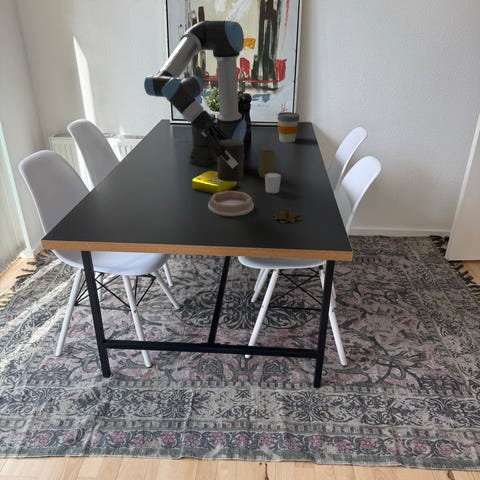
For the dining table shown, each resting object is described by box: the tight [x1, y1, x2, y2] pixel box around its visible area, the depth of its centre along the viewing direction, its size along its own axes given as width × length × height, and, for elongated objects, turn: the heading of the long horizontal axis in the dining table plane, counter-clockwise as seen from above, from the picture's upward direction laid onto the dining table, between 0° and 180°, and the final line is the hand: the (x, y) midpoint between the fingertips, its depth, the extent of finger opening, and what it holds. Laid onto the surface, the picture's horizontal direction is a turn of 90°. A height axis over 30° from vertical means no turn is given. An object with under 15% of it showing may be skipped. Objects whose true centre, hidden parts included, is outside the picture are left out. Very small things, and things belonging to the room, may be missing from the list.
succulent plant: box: [272, 207, 303, 224], centre depth 170 cm, size 12×12×5 cm
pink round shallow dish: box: [207, 190, 255, 217], centre depth 179 cm, size 18×18×4 cm
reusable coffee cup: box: [277, 111, 300, 144], centre depth 263 cm, size 13×13×15 cm
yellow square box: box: [191, 170, 237, 195], centre depth 199 cm, size 15×15×5 cm
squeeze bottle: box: [257, 137, 276, 179], centre depth 207 cm, size 8×8×18 cm
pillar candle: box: [217, 139, 245, 183], centre depth 171 cm, size 10×10×15 cm
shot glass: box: [264, 172, 282, 194], centre depth 194 cm, size 7×7×7 cm
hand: (238, 162), depth 170 cm, fingers closed on pillar candle, 9 cm apart
